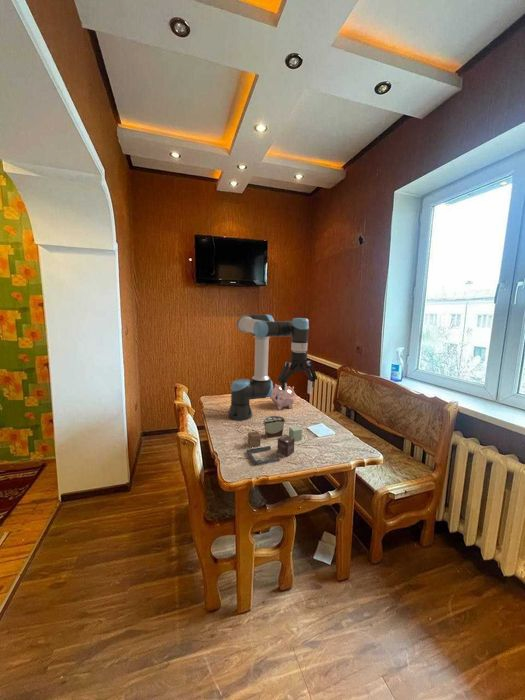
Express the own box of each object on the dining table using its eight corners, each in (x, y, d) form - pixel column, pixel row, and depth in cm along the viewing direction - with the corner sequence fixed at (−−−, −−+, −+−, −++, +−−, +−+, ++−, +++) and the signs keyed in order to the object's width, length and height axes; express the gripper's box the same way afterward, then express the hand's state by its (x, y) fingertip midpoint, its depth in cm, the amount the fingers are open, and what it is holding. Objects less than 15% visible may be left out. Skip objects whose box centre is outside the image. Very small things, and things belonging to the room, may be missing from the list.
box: (284, 448, 138) (284, 434, 137) (294, 452, 134) (295, 438, 133) (276, 452, 133) (277, 438, 132) (287, 457, 129) (287, 442, 128)
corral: (246, 452, 132) (246, 449, 132) (269, 448, 137) (269, 445, 136) (254, 465, 122) (254, 462, 121) (279, 460, 126) (279, 457, 126)
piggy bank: (266, 403, 200) (267, 382, 197) (290, 402, 205) (290, 381, 202) (273, 411, 185) (273, 388, 183) (298, 409, 190) (299, 387, 188)
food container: (279, 431, 156) (280, 414, 155) (284, 435, 151) (285, 418, 149) (259, 434, 152) (260, 416, 150) (263, 439, 146) (264, 421, 145)
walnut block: (247, 443, 142) (248, 432, 141) (256, 441, 143) (257, 430, 142) (251, 447, 137) (251, 436, 136) (260, 446, 139) (260, 435, 138)
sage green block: (288, 437, 149) (289, 427, 148) (297, 436, 151) (297, 425, 150) (293, 441, 144) (293, 430, 144) (301, 440, 146) (302, 429, 145)
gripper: (278, 353, 121) (276, 400, 124) (326, 351, 130) (323, 395, 133) (271, 351, 127) (270, 395, 131) (317, 349, 137) (315, 390, 140)
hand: (297, 395), depth 132 cm, fingers open, 13 cm apart
